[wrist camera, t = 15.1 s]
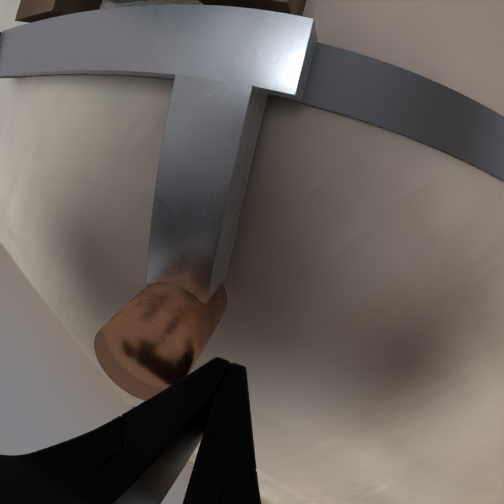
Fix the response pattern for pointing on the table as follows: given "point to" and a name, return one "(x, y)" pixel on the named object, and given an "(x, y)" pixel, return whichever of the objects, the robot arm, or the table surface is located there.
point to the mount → (362, 91)
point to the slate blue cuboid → (120, 0)
